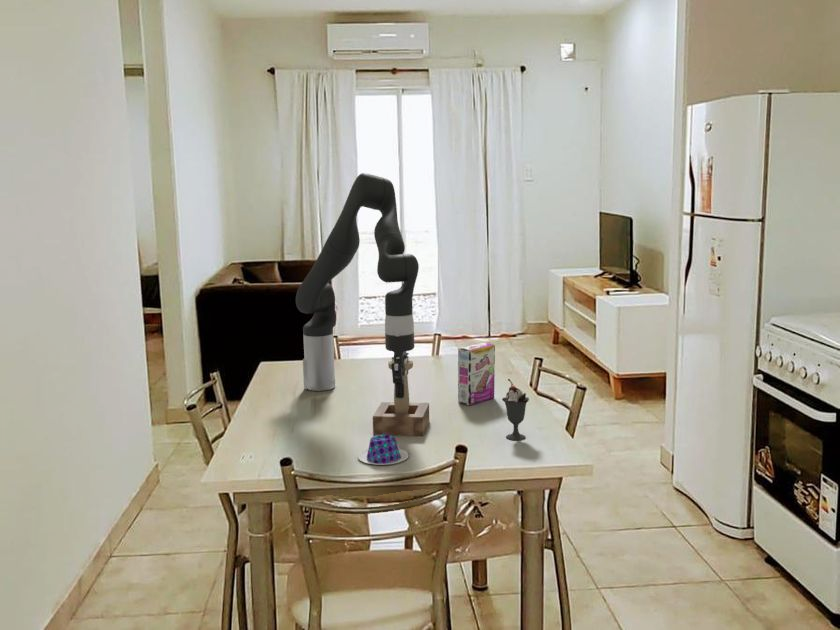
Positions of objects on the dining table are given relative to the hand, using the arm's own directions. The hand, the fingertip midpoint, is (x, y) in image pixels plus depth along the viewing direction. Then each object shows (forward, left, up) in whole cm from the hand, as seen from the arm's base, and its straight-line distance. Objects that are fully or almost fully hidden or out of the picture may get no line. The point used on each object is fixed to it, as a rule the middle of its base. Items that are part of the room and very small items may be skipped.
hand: (401, 395), depth 221 cm
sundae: (+30, -6, -9) cm, 32 cm away
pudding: (-1, -23, -9) cm, 25 cm away
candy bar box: (+18, +27, -9) cm, 34 cm away
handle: (0, 0, -6) cm, 6 cm away
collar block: (0, 0, -9) cm, 9 cm away
